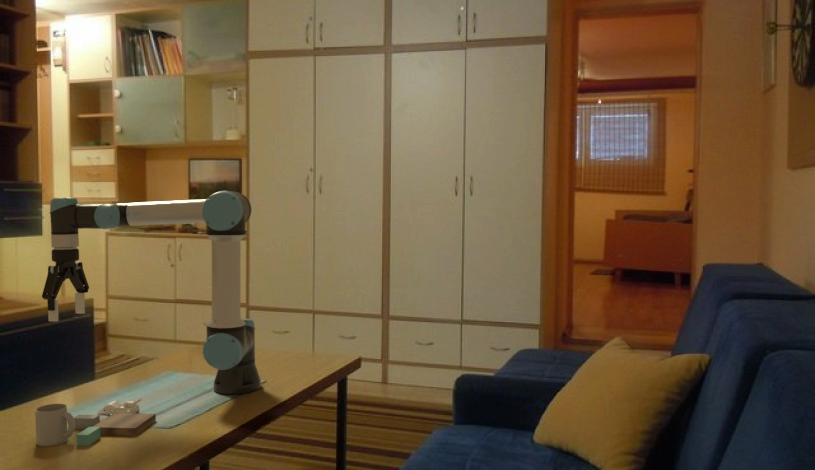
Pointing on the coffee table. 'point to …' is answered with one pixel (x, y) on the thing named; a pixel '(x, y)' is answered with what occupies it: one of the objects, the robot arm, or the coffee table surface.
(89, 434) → the teal brick
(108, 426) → the walnut block
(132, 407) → the toy car
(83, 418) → the grey brick
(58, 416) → the cup
